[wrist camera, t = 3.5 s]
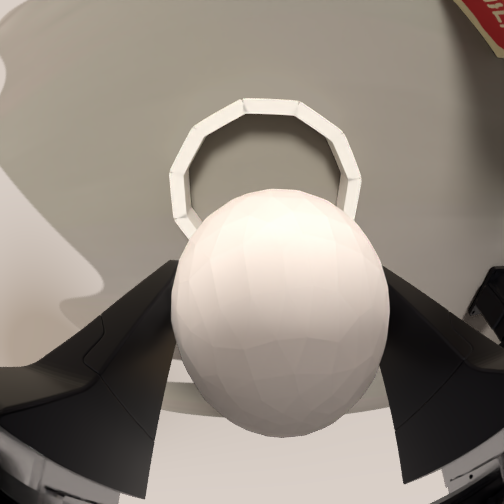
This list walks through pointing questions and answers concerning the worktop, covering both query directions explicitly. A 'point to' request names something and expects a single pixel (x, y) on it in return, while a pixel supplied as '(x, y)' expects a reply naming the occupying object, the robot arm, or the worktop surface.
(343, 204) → the white faceted hoop
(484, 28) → the milk carton
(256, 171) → the worktop surface
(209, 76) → the worktop surface
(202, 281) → the egg
